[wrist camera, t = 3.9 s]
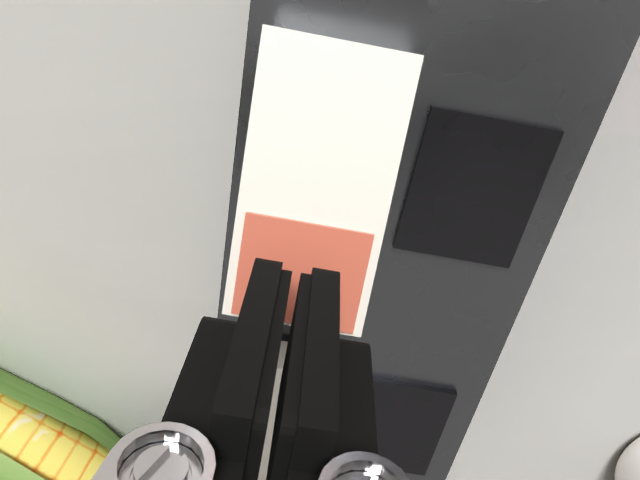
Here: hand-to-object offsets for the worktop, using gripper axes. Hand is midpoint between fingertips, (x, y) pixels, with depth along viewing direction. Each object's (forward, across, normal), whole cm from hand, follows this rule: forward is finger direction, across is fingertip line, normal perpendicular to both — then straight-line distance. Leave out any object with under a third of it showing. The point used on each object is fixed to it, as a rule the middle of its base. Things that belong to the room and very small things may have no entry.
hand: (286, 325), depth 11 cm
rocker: (+2, 0, -2) cm, 3 cm away
